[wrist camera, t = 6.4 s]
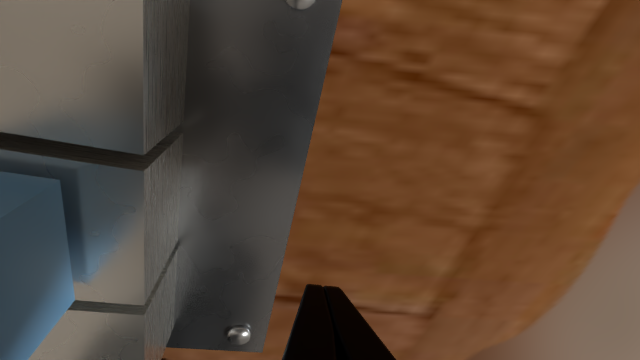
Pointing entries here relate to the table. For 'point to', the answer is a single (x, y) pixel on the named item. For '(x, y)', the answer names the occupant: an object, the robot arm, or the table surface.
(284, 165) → the breaker board
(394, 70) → the table surface
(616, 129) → the table surface
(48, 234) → the blue toggle
